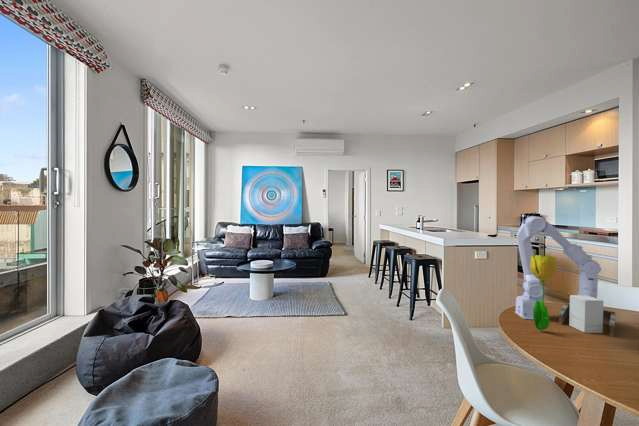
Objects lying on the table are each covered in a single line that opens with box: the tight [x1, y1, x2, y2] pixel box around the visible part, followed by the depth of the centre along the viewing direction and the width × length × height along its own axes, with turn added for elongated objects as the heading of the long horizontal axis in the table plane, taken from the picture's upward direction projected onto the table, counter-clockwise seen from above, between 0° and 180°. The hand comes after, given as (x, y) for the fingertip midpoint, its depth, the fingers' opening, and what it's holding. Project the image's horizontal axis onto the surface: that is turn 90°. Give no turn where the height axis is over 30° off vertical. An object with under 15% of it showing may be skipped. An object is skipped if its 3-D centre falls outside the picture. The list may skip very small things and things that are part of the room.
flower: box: [530, 254, 557, 332], centre depth 115 cm, size 9×8×30 cm
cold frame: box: [558, 302, 617, 337], centre depth 123 cm, size 17×16×5 cm
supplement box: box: [568, 294, 604, 334], centre depth 118 cm, size 7×7×13 cm
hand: (587, 320), depth 123 cm, fingers closed
